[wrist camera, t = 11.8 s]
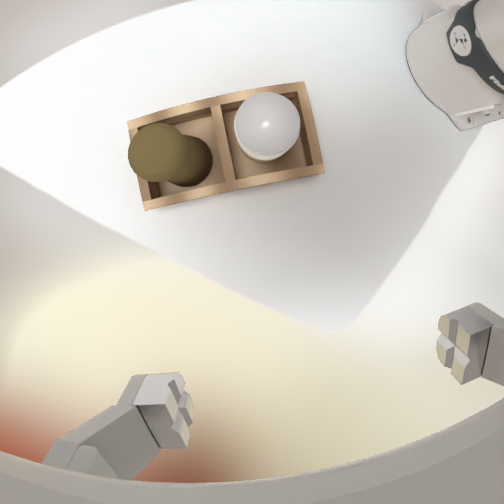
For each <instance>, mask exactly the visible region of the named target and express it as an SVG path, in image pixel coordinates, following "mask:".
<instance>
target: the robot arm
mask: <svg viewBox="0 0 504 504" xmlns="http://www.w3.org/2000/svg"><path fill="white" fill-rule="evenodd" d="M406 53H407V60H408V64H409V67H410V70H411V73H412V75H413V77H414V79H415V81H416V83H417V84H418V86H419V87H420V89H421V90H422V91H423V93H424V94H425V95H426V96H427V97H428V98H429V99H430V100H431V101H432V102H433V103H434V104H435V105H436V106H437V107H439V108H440V109H442V110H443V111H444V112H446V113H447V114H448V115H449V117H450V118H451V120H452V121H453V123H454V124H455V125H456V127H457V128H458V129H460V130H462V131H464V130H468V129H471V128H474V127H477V126H480V125H483V124H487V123H490V122H493V121H496V120H499V119H503V118H504V0H471V1H469V2H467V3H465V4H464V5H463V6H459V5H457V4H456V5H453V6H451V7H449V8H447V9H445V10H443V11H442V12H440V13H438V14H433V13H427V14H425V15H424V16H423V17H422V21H421V25H420V26H419V27H418V28H417V29H416V30H414V31H413V32H412V33H411V35H410V36H409V39H408V42H407V48H406ZM467 119H468V121H467ZM438 329H439V330H440V331H441V335H440V336H439V338H438V340H437V354H438V358H439V360H440V362H441V363H442V364H443V365H444V366H445V367H448V368H452V370H451V374H452V375H453V376H454V377H455V379H456V380H457V381H458V382H459V383H460V384H461V385H462V384H465V383H467V382H469V381H471V380H474V379H476V378H478V377H480V376H482V377H483V378H485V379H487V380H490V381H493V382H495V383H497V384H500V385H502V386H504V318H502V317H500V316H499V315H497V314H496V313H494V312H493V311H491V310H490V309H488V308H487V307H485V306H484V305H482V304H480V303H477V302H475V303H473V304H471V305H468V306H466V307H464V308H461V309H459V310H456V311H453V312H451V313H448V314H446V315H443V316H441V317H440V319H439V324H438ZM184 386H185V382H184V379H183V377H182V375H181V374H180V373H179V372H176V373H175V372H174V373H160V374H143V375H135V376H132V378H131V379H130V381H129V383H128V385H127V387H126V388H125V390H124V392H123V394H122V396H121V397H120V399H119V401H118V403H117V405H116V406H111V407H109V408H107V409H106V410H104V411H103V412H101V413H100V414H98V415H97V416H95V417H93V418H92V419H90V420H88V421H87V422H85V423H84V424H82V425H81V426H79V427H77V428H75V429H74V430H72V431H70V432H69V433H68V434H66V435H64V436H62V437H61V438H59V439H57V440H56V441H55V443H54V445H53V446H52V448H51V449H50V451H49V452H48V454H47V456H46V457H45V459H44V460H43V462H42V464H40V463H37V462H33V461H30V460H27V459H23V458H20V457H17V456H14V455H11V454H8V453H5V452H2V451H0V504H504V398H503V399H502V400H500V401H498V402H496V403H495V404H493V405H491V406H490V407H488V408H486V409H484V410H482V411H480V412H479V413H477V414H475V415H473V416H471V417H469V418H467V419H465V420H463V421H461V422H459V423H457V424H455V425H453V426H450V427H448V428H446V429H444V430H441V431H439V432H437V433H435V434H432V435H430V436H428V437H425V438H422V439H420V440H418V441H415V442H412V443H410V444H407V445H404V446H402V447H399V448H396V449H393V450H390V451H387V452H384V453H381V454H378V455H375V456H371V457H368V458H364V459H361V460H357V461H354V462H350V463H346V464H342V465H338V466H334V467H330V468H325V469H320V470H316V471H311V472H305V473H300V474H294V475H289V476H281V477H275V478H267V479H258V480H248V481H237V482H221V483H220V482H219V483H163V482H146V481H135V480H134V481H133V480H132V479H133V478H134V477H135V476H136V475H137V474H138V473H139V472H140V471H141V470H142V469H143V468H144V467H145V466H146V465H147V464H148V463H149V462H150V461H151V460H152V459H153V458H154V457H155V456H156V455H157V454H158V453H159V452H160V449H182V448H187V447H188V442H189V437H190V431H189V428H188V426H190V425H191V424H192V423H193V418H194V407H193V403H192V399H191V397H190V394H188V393H187V392H185V391H184V390H183V389H184Z"/></svg>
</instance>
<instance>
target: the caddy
mask: <svg viewBox="0 0 504 504" xmlns="http://www.w3.org/2000/svg"><path fill="white" fill-rule="evenodd" d="M262 92H272V93H277V94H280V95H282V96H284V97H286V98H287V99H289V100H290V101H291V102H292V103H293V105H294V106H295V107H296V109H297V111H298V113H299V116H300V131H299V135H298V138H297V140H296V142H295V143H294V145H293V146H292V147H291V148H290V149H289V150H288V151H287V152H285V153H284V154H283V155H282V156H280V157H279V158H278V159H276V160H275V161H272V162H269V163H257V162H254V161H252V160H250V159H248V158H247V157H246V156H245V155H244V154H243V153H242V151H241V149H240V147H239V144H238V141H237V138H236V135H235V131H234V120H235V116H236V114H237V111H238V109H239V107H240V106H241V105H242V103H243V102H244V101H245V100H246V99H248V98H249V97H251V96H253V95H255V94H258V93H262ZM153 123H165V124H169V125H171V126H173V127H174V128H176V129H177V130H179V131H180V133H181V134H182V135H190V136H194V137H198V138H200V139H201V140H203V141H204V142H206V144H207V145H208V147H209V148H210V150H211V153H212V157H213V158H212V167H211V170H210V173H209V174H208V176H207V177H206V178H205V180H203V181H202V182H201V183H199V184H198V185H195V186H192V187H180V186H177V185H174V184H172V183H170V182H168V181H166V180H165V181H162V182H150V181H147V180H144V179H142V178H141V177H139V176H138V175H137V178H138V183H139V187H140V192H141V197H142V201H143V205H144V210H145V211H147V210H151V209H155V208H159V207H163V206H167V205H171V204H175V203H180V202H184V201H188V200H192V199H197V198H201V197H205V196H210V195H214V194H219V193H223V192H228V191H233V190H238V189H242V188H247V187H252V186H257V185H262V184H267V183H273V182H278V181H283V180H289V179H294V178H300V177H306V176H312V175H317V174H324V173H325V172H324V167H323V162H322V157H321V152H320V147H319V142H318V137H317V133H316V128H315V124H314V119H313V115H312V110H311V106H310V102H309V98H308V94H307V90H306V86H305V82H296V83H288V84H281V85H274V86H268V87H262V88H256V89H250V90H245V91H240V92H235V93H230V94H225V95H221V96H216V97H212V98H207V99H203V100H199V101H195V102H191V103H187V104H183V105H180V106H176V107H172V108H169V109H165V110H162V111H159V112H155V113H152V114H149V115H146V116H143V117H139V118H136V119H133V120H130V121H127V124H128V130H129V136H130V141H131V140H132V138H133V137H134V136H135V134H136V133H137V132H138V131H139V130H140V129H142V128H143V127H144V126H147V125H149V124H153Z"/></svg>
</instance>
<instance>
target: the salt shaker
mask: <svg viewBox="0 0 504 504" xmlns="http://www.w3.org/2000/svg"><path fill="white" fill-rule="evenodd" d="M234 131H235V135H236V138H237V141H238V144H239V147H240V149H241V151H242V153H243V154H244V155H245V156H246V157H247V158H248V159H250V160H252V161H254V162H257V163H269V162H272V161H275V160H276V159H278V158H279V157H280V156H282V155H283V154H284V153H285V152H287V151H288V150H289V149H290V148H291V147H292V146H293V145H294V143H295V142H296V140H297V138H298V135H299V131H300V116H299V113H298V111H297V109H296V107H295V106H294V105H293V103H292V102H291V101H290V100H289V99H287V98H286V97H284V96H282V95H280V94H277V93H272V92H262V93H258V94H255V95H253V96H251V97H249V98H248V99H246V100H245V101H244V102H243V103H242V105H241V106H240V107H239V109H238V111H237V114H236V116H235V120H234Z"/></svg>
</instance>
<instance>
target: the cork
mask: <svg viewBox="0 0 504 504" xmlns="http://www.w3.org/2000/svg"><path fill="white" fill-rule="evenodd" d="M212 158H213V157H212V153H211V150H210V148H209V147H208V145H207V144H206V142H204V141H203V140H201V139H200V138H198V137H194V136H190V135H182V134H181V133H180V131H179V130H177V129H176V128H174V127H173V126H171V125H169V124H165V123H153V124H149V125H147V126H144V127H143V128H142V129H140V130H139V131H138V132H137V133H136V134H135V136H134V137H133V138H132V140H131V143H130V146H129V149H128V159H129V163H130V166H131V168H132V169H133V171H134V172H135V173H136V174H137V175H138V176H139V177H141V178H142V179H144V180H147V181H150V182H162V181H165V180H166V181H168V182H170V183H172V184H174V185H177V186H180V187H192V186H195V185H198V184H199V183H201V182H202V181H203V180H205V178H206V177H207V176H208V174H209V173H210V170H211V167H212Z"/></svg>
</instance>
